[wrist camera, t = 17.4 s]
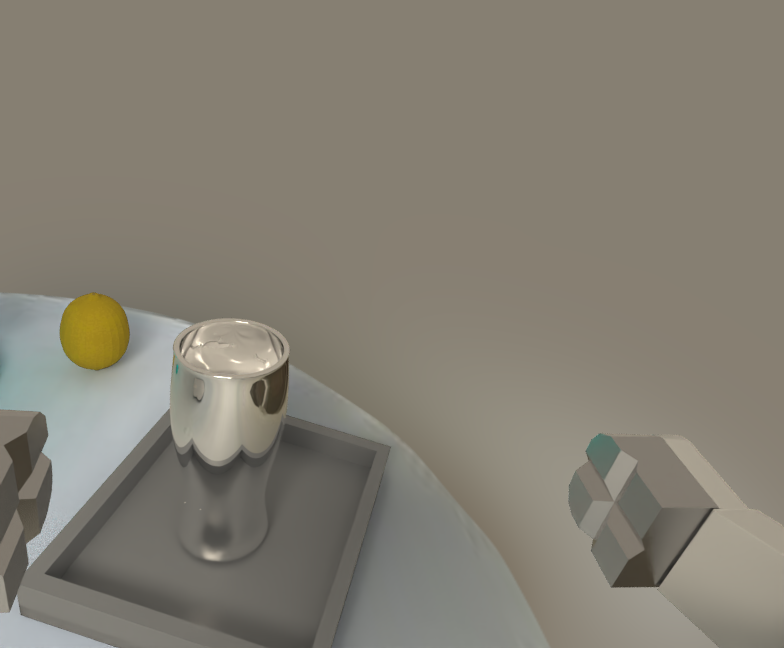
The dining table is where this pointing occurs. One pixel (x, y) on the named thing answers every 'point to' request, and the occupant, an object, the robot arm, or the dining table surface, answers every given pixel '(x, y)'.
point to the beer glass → (227, 431)
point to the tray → (206, 578)
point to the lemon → (94, 331)
